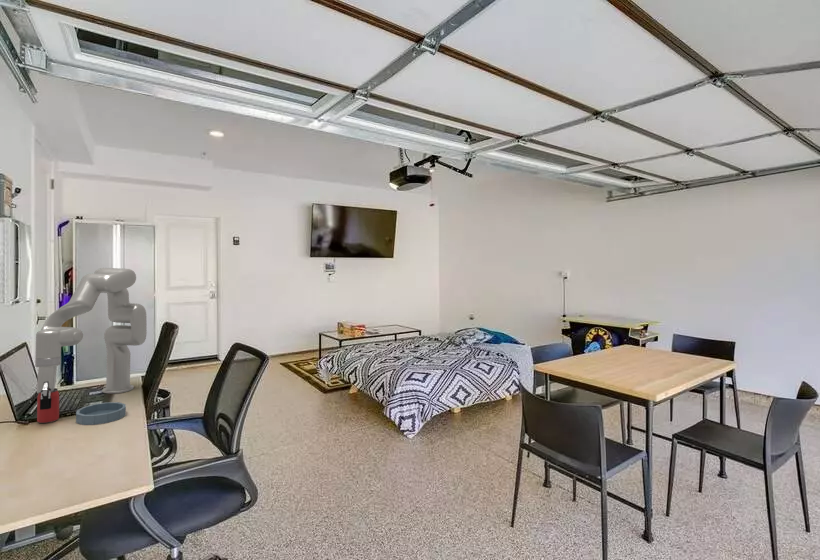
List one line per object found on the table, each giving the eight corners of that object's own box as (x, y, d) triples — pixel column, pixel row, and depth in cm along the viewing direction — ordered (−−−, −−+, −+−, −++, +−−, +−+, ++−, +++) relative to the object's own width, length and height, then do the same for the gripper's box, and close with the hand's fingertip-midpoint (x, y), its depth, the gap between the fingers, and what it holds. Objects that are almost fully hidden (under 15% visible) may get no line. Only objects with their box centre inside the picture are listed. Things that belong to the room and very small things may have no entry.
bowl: (77, 414, 172) (77, 406, 172) (124, 408, 181) (125, 400, 181) (74, 427, 159) (74, 418, 159) (126, 419, 168) (126, 411, 168)
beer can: (63, 418, 168) (63, 388, 168) (47, 424, 161) (48, 393, 161) (48, 417, 169) (48, 387, 168) (32, 423, 162) (32, 392, 162)
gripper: (38, 358, 169) (37, 401, 170) (31, 367, 155) (30, 413, 155) (62, 356, 174) (61, 398, 174) (58, 365, 160) (57, 410, 160)
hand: (47, 405), depth 165 cm, fingers open, 9 cm apart
